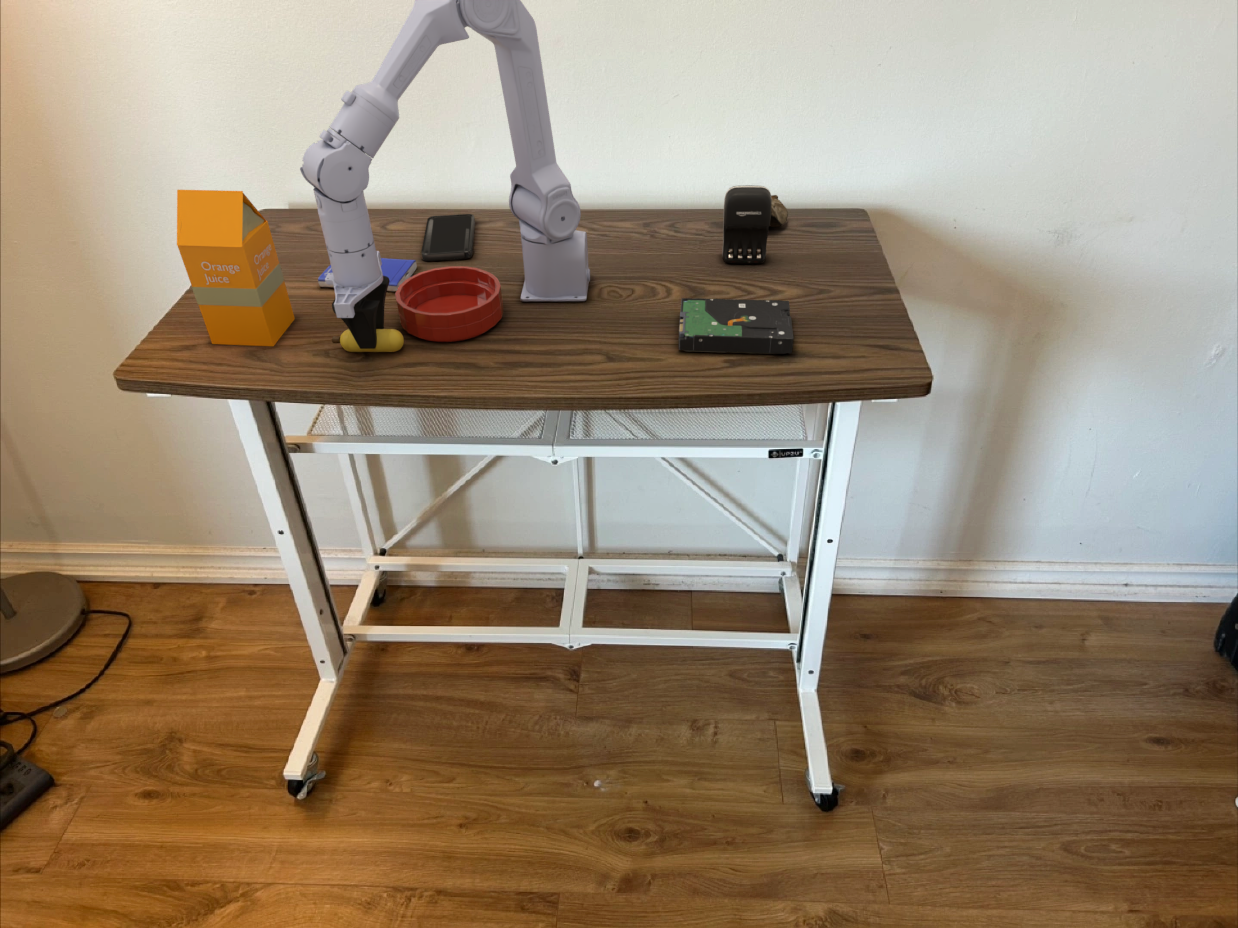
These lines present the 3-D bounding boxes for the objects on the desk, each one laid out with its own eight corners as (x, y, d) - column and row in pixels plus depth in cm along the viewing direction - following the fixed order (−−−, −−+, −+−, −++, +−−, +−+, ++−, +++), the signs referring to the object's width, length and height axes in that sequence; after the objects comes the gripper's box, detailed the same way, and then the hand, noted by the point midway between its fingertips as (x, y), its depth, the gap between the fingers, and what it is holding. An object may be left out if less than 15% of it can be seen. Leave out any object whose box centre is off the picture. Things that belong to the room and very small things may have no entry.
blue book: (317, 278, 132) (396, 283, 130) (339, 253, 138) (415, 258, 136) (319, 287, 133) (398, 293, 131) (341, 263, 139) (417, 267, 137)
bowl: (509, 294, 130) (506, 265, 127) (495, 344, 119) (492, 314, 116) (413, 294, 130) (408, 266, 127) (390, 344, 119) (384, 315, 116)
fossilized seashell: (783, 199, 149) (724, 210, 150) (784, 174, 143) (722, 186, 144) (792, 237, 146) (731, 248, 147) (793, 213, 140) (730, 225, 141)
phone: (420, 255, 138) (428, 215, 149) (421, 261, 138) (429, 222, 150) (471, 252, 138) (475, 213, 150) (472, 258, 139) (475, 219, 151)
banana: (407, 344, 119) (403, 324, 117) (402, 356, 117) (398, 336, 115) (338, 344, 120) (333, 324, 118) (332, 356, 117) (327, 336, 115)
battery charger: (721, 266, 135) (725, 194, 128) (720, 255, 138) (724, 184, 131) (767, 267, 135) (774, 194, 128) (765, 255, 138) (772, 184, 131)
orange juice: (236, 316, 126) (191, 177, 114) (295, 318, 125) (257, 179, 113) (210, 344, 120) (160, 202, 108) (273, 347, 119) (229, 203, 107)
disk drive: (786, 317, 123) (679, 314, 124) (789, 299, 121) (680, 296, 122) (792, 357, 115) (677, 353, 116) (795, 338, 113) (678, 334, 114)
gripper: (334, 219, 115) (356, 312, 123) (299, 270, 103) (325, 369, 112) (388, 218, 114) (406, 312, 123) (359, 270, 103) (381, 369, 111)
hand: (371, 339), depth 117 cm, fingers open, 3 cm apart
